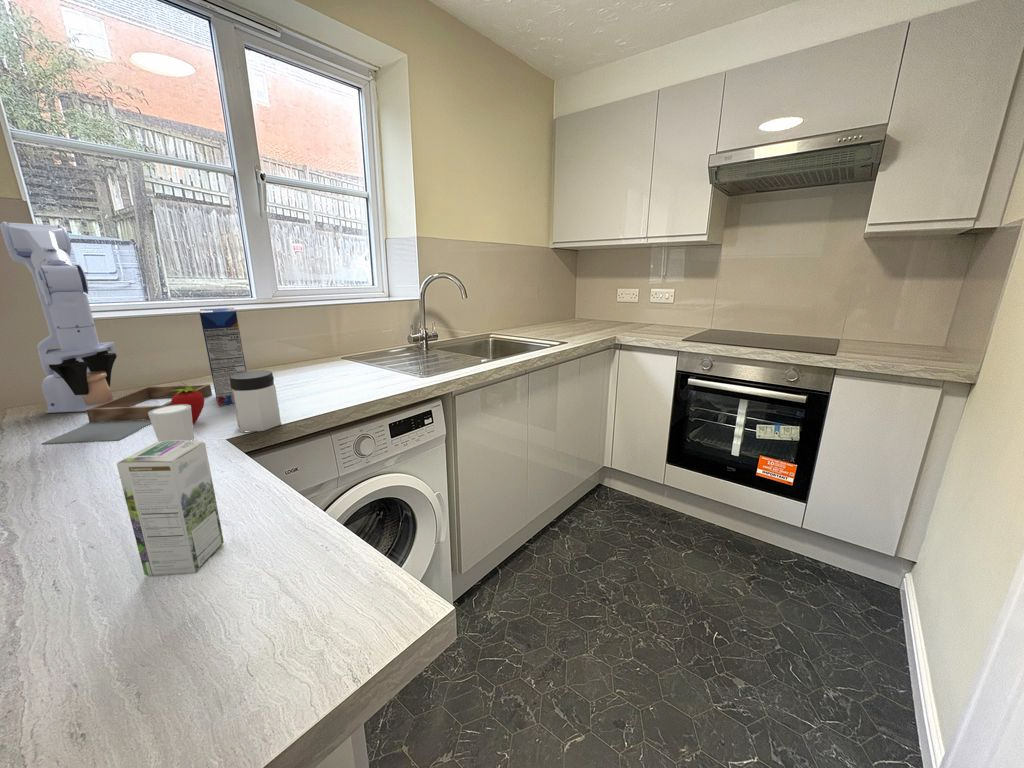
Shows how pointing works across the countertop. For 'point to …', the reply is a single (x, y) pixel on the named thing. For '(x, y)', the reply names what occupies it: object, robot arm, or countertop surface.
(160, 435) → the white tapered pot
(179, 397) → the strawberry
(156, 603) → the countertop surface
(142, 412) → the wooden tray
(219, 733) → the countertop surface
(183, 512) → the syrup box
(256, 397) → the jar
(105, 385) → the wooden drawer knob
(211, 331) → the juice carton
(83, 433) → the slate mat
